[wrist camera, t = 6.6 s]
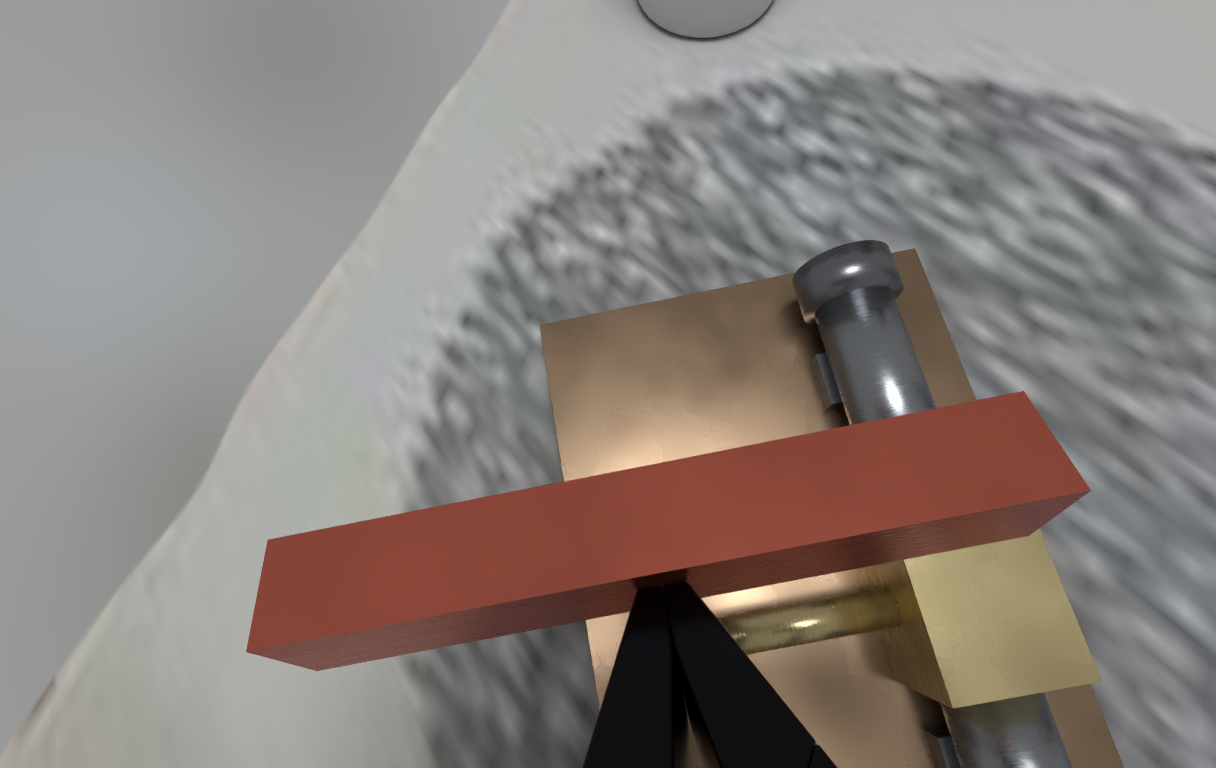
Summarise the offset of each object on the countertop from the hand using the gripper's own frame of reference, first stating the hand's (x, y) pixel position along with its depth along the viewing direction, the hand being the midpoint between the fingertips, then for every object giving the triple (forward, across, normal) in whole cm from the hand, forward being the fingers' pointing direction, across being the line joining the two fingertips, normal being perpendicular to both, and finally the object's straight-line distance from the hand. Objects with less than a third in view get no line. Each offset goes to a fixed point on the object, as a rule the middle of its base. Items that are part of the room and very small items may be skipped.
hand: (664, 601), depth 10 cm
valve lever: (+6, 0, +10) cm, 11 cm away
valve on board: (+9, -5, +9) cm, 14 cm away
